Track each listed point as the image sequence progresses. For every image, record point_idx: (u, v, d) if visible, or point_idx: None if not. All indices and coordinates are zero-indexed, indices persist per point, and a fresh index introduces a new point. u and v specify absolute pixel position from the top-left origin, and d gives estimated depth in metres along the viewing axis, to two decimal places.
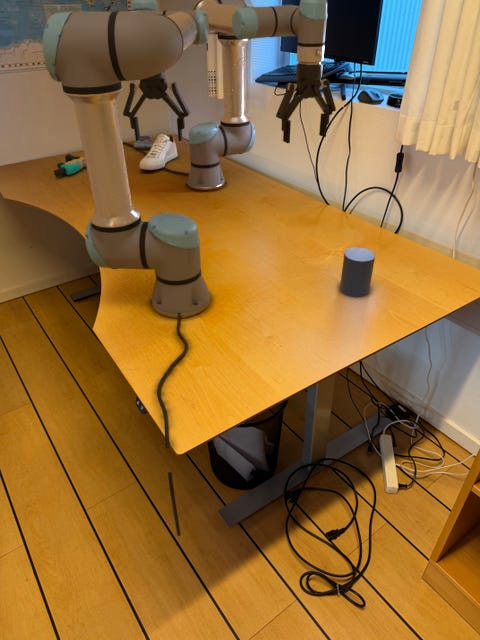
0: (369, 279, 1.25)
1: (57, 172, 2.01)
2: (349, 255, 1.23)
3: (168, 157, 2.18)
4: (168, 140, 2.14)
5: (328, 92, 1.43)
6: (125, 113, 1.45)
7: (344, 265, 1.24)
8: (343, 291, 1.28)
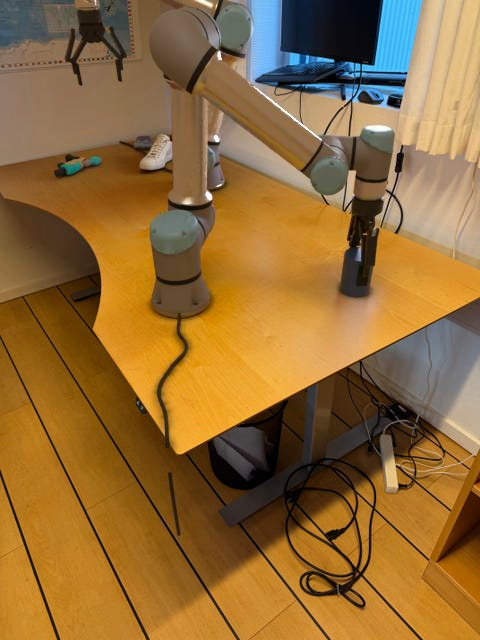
0: (369, 279, 1.25)
1: (57, 172, 2.01)
2: (349, 255, 1.23)
3: (168, 157, 2.18)
4: (168, 140, 2.14)
5: (114, 38, 1.56)
6: (347, 238, 1.28)
7: (344, 265, 1.24)
8: (343, 291, 1.28)
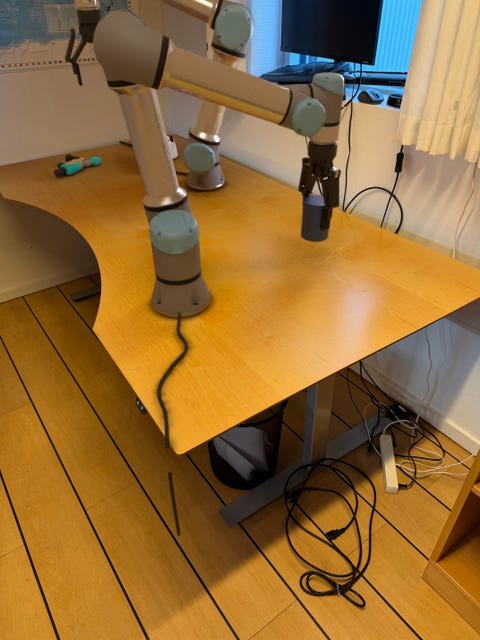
0: None
1: (57, 172, 2.01)
2: (310, 202, 1.30)
3: None
4: (168, 140, 2.14)
5: None
6: (299, 189, 1.35)
7: (306, 213, 1.31)
8: (307, 238, 1.35)
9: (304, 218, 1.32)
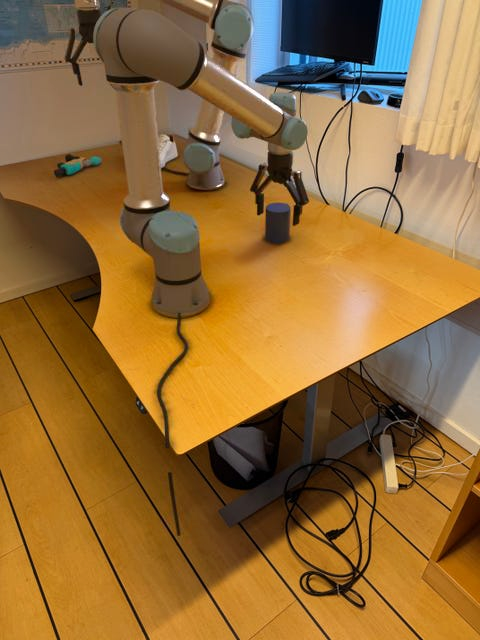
0: None
1: (57, 172, 2.01)
2: (273, 210, 1.47)
3: (168, 157, 2.18)
4: (168, 140, 2.14)
5: None
6: (252, 189, 1.50)
7: (272, 220, 1.48)
8: (274, 242, 1.52)
9: (270, 225, 1.49)
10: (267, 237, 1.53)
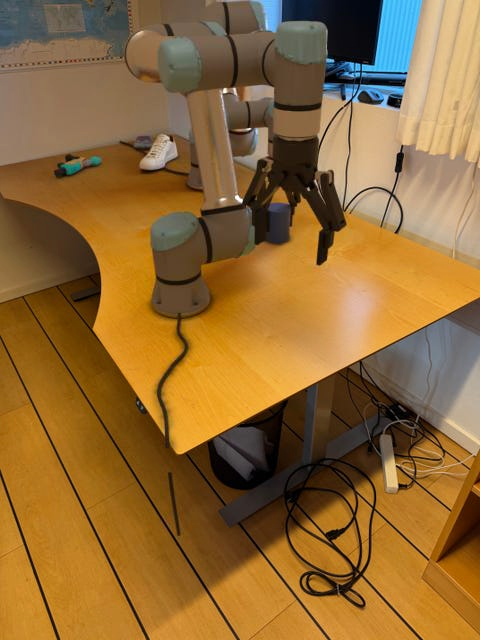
0: None
1: (57, 172, 2.01)
2: (273, 210, 1.47)
3: (168, 157, 2.18)
4: (168, 140, 2.14)
5: None
6: (245, 202, 0.88)
7: (272, 220, 1.48)
8: (274, 242, 1.52)
9: (270, 225, 1.49)
10: (267, 237, 1.53)
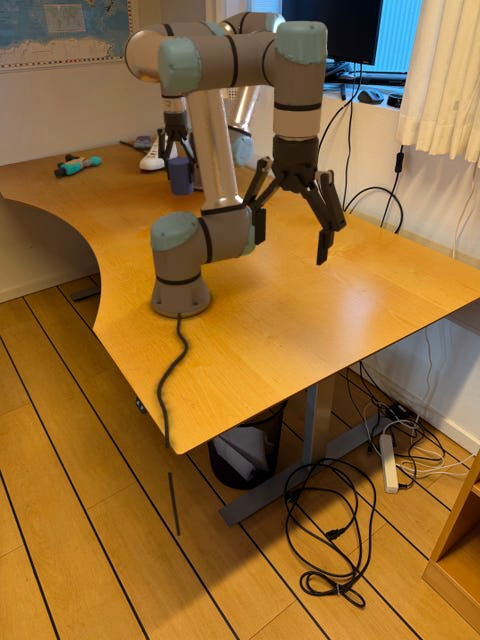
0: (188, 181, 1.62)
1: (57, 172, 2.01)
2: (171, 161, 1.61)
3: None
4: None
5: (191, 143, 1.54)
6: (245, 202, 0.88)
7: (169, 169, 1.62)
8: (171, 191, 1.66)
9: None
10: None
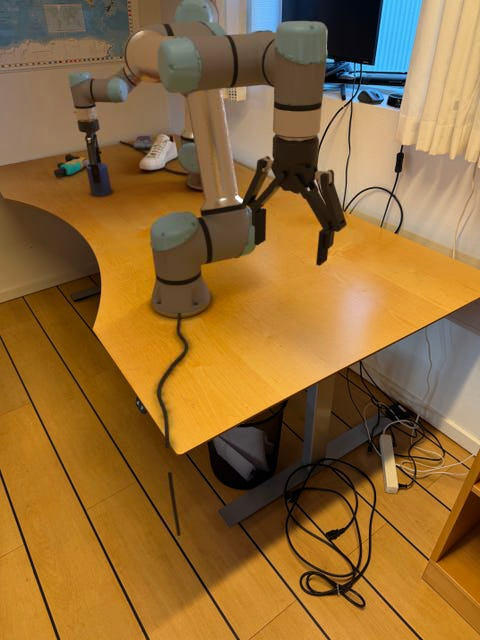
0: (94, 184, 1.84)
1: (57, 172, 2.01)
2: None
3: (168, 157, 2.18)
4: (168, 140, 2.14)
5: (87, 148, 1.73)
6: (245, 202, 0.88)
7: None
8: None
9: None
10: None
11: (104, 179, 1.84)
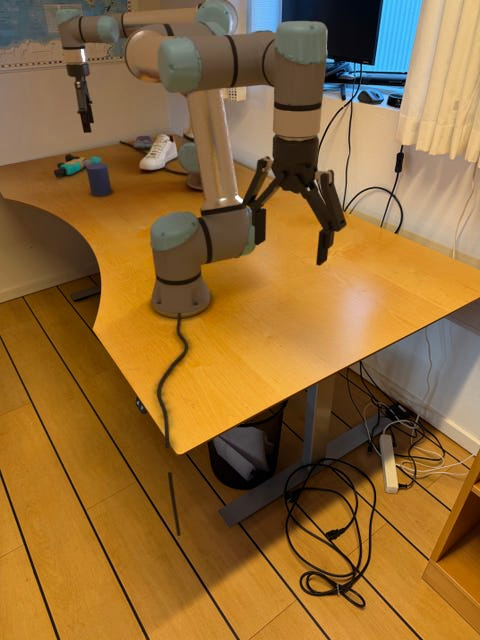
0: (94, 184, 1.84)
1: (57, 172, 2.01)
2: (93, 164, 1.85)
3: (168, 157, 2.18)
4: (168, 140, 2.14)
5: None
6: (245, 202, 0.88)
7: None
8: None
9: None
10: None
11: (104, 179, 1.84)
